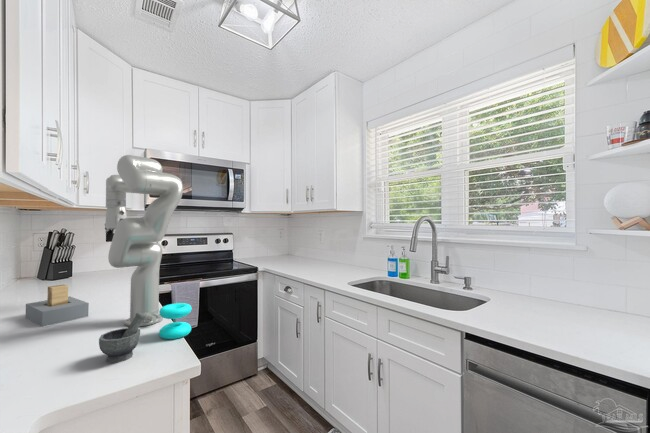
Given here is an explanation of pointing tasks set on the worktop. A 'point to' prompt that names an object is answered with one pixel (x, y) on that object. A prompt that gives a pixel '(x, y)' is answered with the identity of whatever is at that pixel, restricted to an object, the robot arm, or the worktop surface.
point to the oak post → (57, 295)
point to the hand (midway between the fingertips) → (115, 241)
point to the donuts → (175, 328)
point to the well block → (56, 311)
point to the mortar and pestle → (121, 341)
